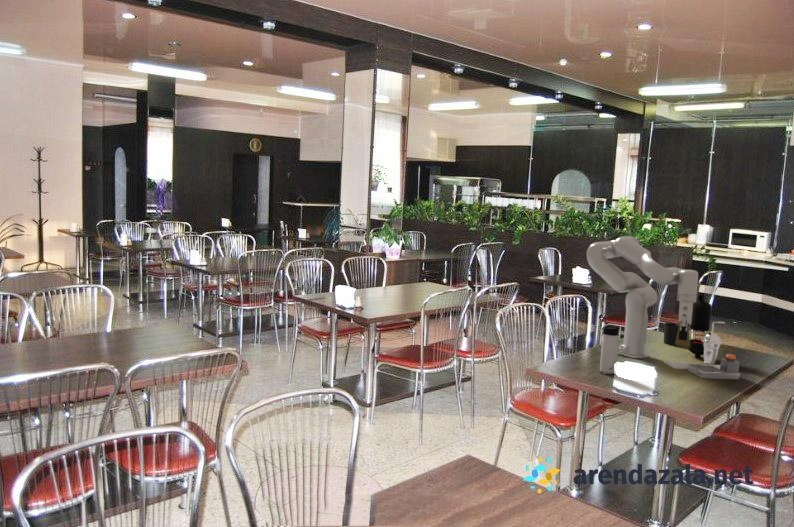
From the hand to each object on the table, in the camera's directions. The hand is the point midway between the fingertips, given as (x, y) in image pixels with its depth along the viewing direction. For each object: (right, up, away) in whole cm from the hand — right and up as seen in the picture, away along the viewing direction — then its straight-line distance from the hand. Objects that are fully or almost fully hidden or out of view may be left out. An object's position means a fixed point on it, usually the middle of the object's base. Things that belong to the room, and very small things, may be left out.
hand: (682, 338), depth 266 cm
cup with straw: (+16, -12, +8) cm, 22 cm away
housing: (+8, -14, -10) cm, 19 cm away
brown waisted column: (0, -3, +1) cm, 3 cm away
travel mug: (-38, -13, -14) cm, 42 cm away
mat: (-1, -12, +2) cm, 12 cm away
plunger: (+14, -11, -13) cm, 22 cm away
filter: (+16, -11, +18) cm, 26 cm away
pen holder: (+15, -8, +42) cm, 45 cm away
